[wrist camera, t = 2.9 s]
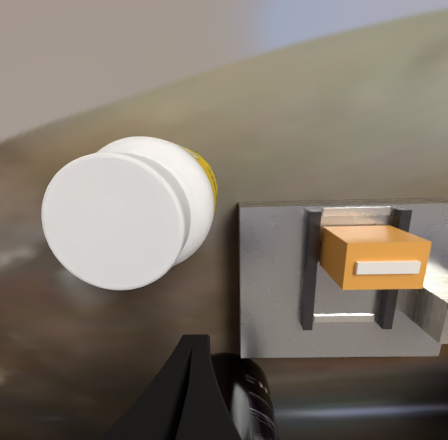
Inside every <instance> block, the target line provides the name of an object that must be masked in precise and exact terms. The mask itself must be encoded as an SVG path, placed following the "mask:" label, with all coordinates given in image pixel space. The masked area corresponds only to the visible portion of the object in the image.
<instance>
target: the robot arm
mask: <svg viewBox="0 0 448 440" xmlns="http://www.w3.org/2000/svg"><path fill="white" fill-rule="evenodd" d="M97 440H242V438H241V437H240V435H239V433H238V430H237V428H236V426H235V424H234V422H233V420H232V418H231V416H230V414H229V411H228V409H227V407H226V404H225V402H224V399H223V397H222V394H221V391H220V388H219V385H218V382H217V379H216V376H215V372H214V368H213V364H212V360H211V354H210V336H209V335H183V336H182V337H181V339H180V341H179V343H178V345H177V346H176V348H175V350H174V351H173V353H172V354H171V356H170V357H169V359H168V360H167V362H166V363H165V365H164V366H163V368H162V369H161V371H160V372H159V373H158V375H157V376H156V377H155V379H154V380H153V381H152V383H151V384H150V385H149V386H148V388H147V389H146V390H145V391H144V392H143V394H142V395H141V396H140V397H139V398H138V399H137V401H136V402H135V403H134V404H133V405H132V406H131V407H130V408H129V409H128V410H127V411H126V412H125V413H124V415H123V416H122V417H121V418H120V419H119V420H118V421H117V422H116V423H115V424H114V425H113V426H111V427H110V428H109V429H108V430H107V431H106V432H105V433H104V434H103V435H102V436H101V437H99V438H98V439H97Z"/></svg>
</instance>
